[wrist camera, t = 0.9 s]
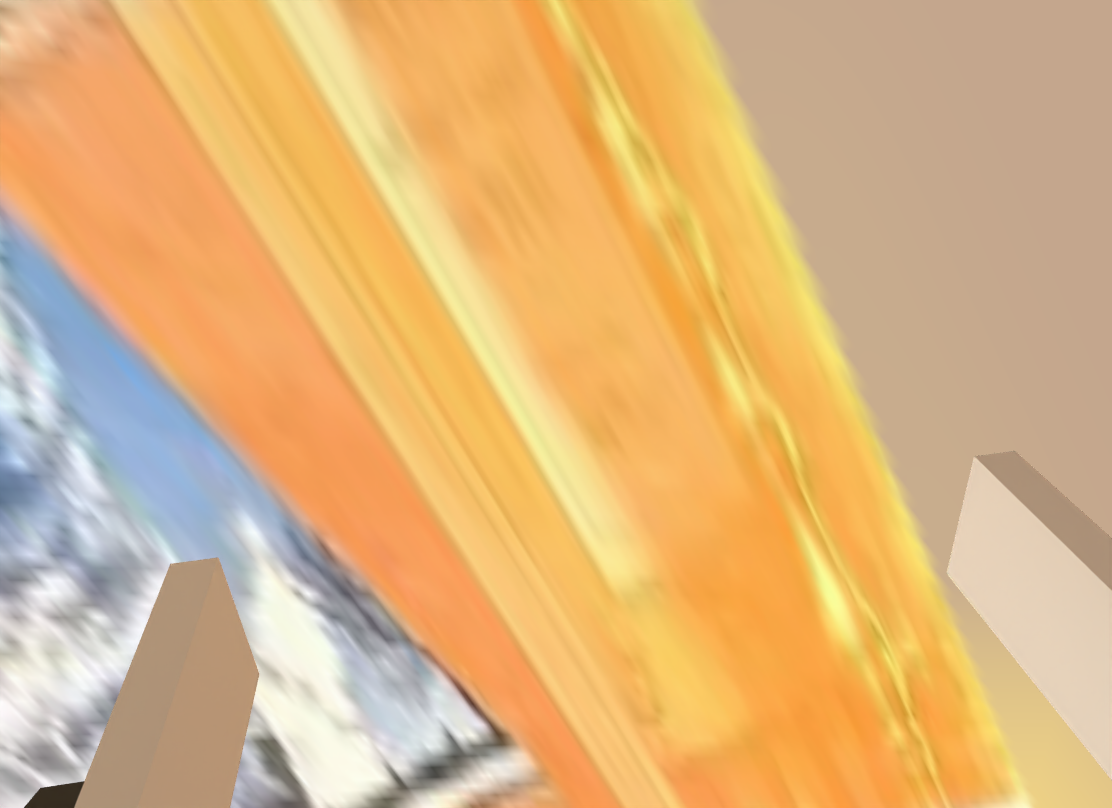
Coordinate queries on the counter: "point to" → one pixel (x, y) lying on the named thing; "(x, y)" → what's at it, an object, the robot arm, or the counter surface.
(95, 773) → the robot arm
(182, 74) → the counter surface
